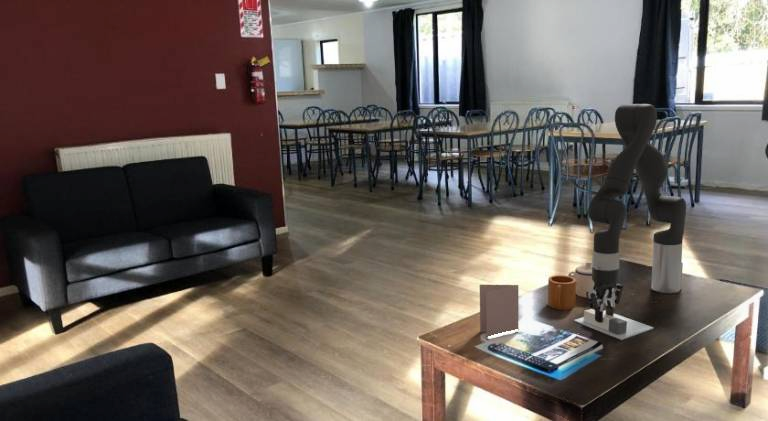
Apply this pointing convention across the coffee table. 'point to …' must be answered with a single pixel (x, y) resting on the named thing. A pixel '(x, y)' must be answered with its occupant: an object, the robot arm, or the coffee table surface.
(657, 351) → the coffee table surface
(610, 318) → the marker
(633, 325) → the paper pad
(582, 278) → the teacup with lid
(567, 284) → the mug
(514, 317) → the greeting card
